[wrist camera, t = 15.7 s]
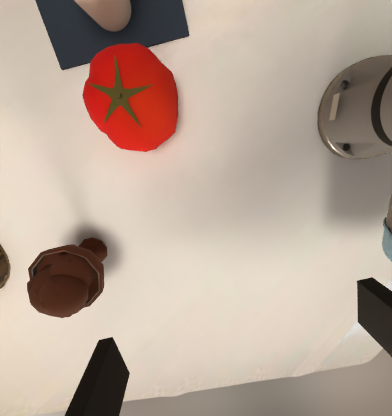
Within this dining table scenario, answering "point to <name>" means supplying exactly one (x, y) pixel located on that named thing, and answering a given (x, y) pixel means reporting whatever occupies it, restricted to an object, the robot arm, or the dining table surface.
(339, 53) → the dining table surface
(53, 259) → the ice cream bowl
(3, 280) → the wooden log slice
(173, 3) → the placemat
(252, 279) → the dining table surface
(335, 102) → the robot arm
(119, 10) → the dixie cup
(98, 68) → the tomato
